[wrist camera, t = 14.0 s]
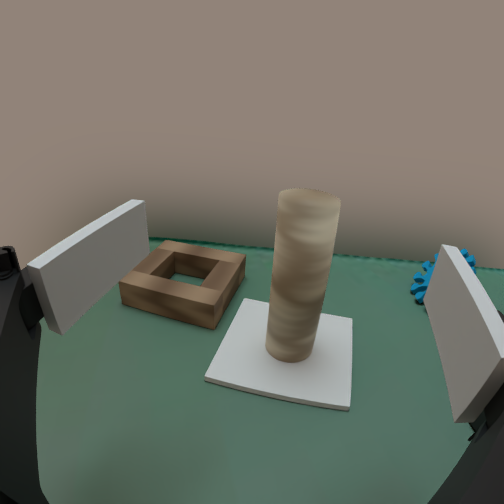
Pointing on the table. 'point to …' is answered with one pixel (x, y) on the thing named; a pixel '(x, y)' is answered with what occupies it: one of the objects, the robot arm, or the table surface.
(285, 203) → the dowel
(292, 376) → the pad
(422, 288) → the gear
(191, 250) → the pocket block
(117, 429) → the table surface
